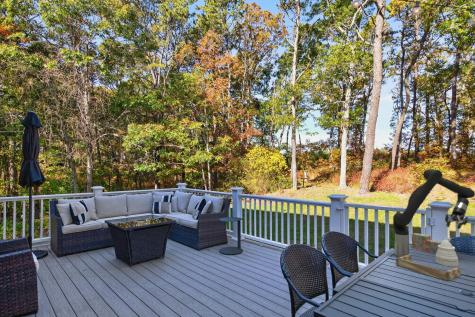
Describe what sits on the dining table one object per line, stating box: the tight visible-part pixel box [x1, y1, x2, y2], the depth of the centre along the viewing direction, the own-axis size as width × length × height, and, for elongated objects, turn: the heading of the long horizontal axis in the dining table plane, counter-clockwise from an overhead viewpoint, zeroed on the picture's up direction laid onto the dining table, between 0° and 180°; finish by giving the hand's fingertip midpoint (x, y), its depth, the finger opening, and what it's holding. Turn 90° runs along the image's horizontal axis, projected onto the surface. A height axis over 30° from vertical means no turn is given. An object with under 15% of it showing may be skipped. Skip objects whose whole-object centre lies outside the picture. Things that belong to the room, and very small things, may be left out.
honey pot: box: [435, 237, 459, 268], centre depth 194 cm, size 13×13×18 cm
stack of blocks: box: [411, 232, 442, 254], centre depth 225 cm, size 21×6×12 cm, turn 24°
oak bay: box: [395, 254, 461, 282], centre depth 181 cm, size 16×31×5 cm, turn 29°
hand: (453, 227), depth 200 cm, fingers open, 6 cm apart
